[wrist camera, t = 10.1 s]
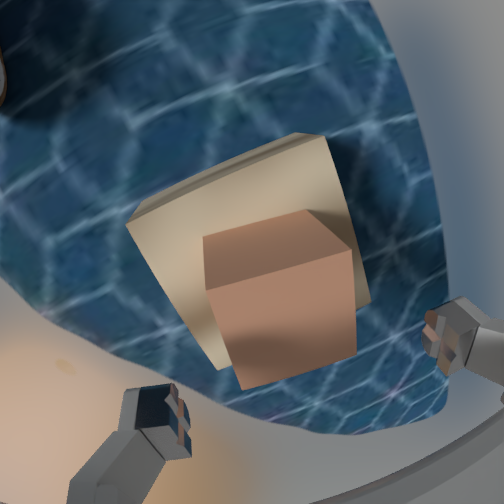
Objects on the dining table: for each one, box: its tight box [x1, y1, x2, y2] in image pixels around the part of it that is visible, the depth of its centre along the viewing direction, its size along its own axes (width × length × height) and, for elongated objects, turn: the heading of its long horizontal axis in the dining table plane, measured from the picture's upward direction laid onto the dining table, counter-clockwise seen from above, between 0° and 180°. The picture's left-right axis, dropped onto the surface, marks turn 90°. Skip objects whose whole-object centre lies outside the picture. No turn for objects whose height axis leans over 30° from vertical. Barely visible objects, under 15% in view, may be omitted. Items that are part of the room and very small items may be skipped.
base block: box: [126, 133, 371, 370], centre depth 18 cm, size 10×10×5 cm
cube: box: [203, 209, 357, 390], centre depth 13 cm, size 5×5×5 cm
